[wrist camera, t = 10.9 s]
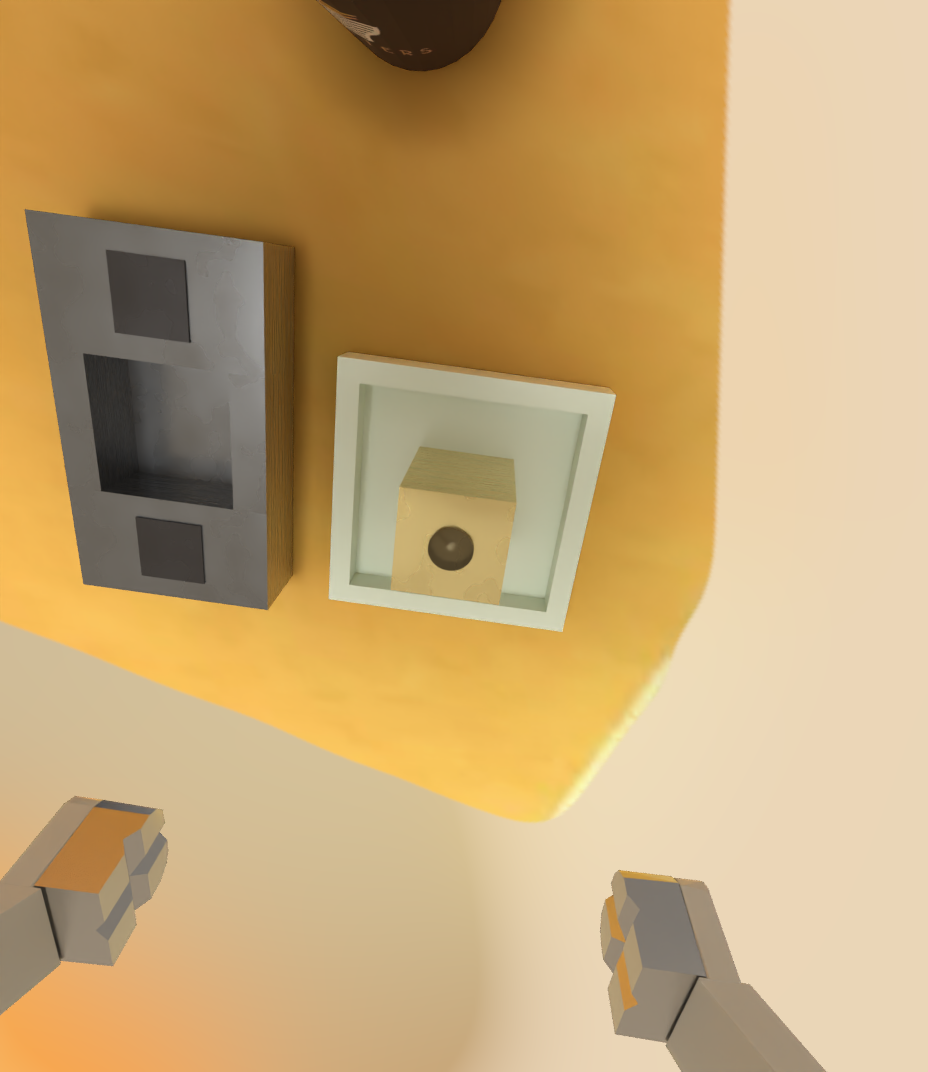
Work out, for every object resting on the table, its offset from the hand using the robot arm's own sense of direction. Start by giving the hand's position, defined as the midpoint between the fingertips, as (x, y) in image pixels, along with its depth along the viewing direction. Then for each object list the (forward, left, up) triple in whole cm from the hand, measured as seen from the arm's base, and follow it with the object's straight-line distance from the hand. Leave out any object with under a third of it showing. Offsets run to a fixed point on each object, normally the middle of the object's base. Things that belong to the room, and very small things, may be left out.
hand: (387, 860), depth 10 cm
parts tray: (0, 0, -20) cm, 20 cm away
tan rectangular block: (0, 0, -20) cm, 20 cm away
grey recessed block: (-2, -13, -20) cm, 24 cm away
